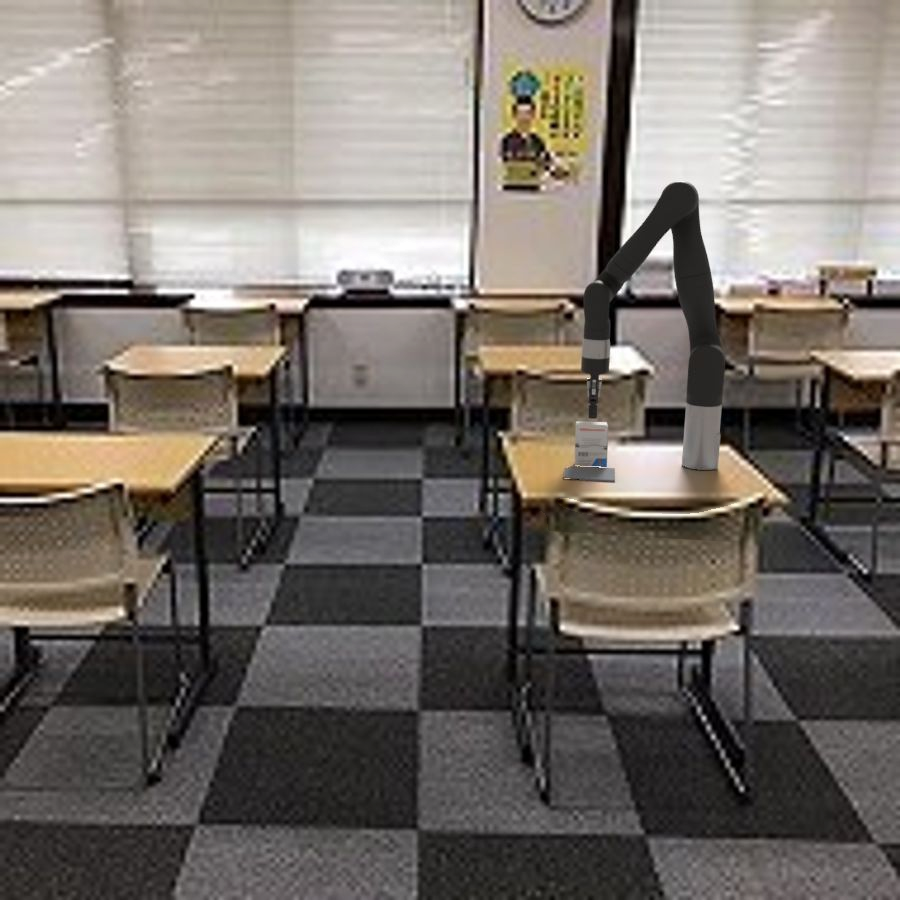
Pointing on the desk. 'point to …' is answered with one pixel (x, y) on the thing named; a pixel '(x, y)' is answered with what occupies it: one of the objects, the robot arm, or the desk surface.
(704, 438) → the robot arm
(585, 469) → the mat
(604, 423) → the ink box
